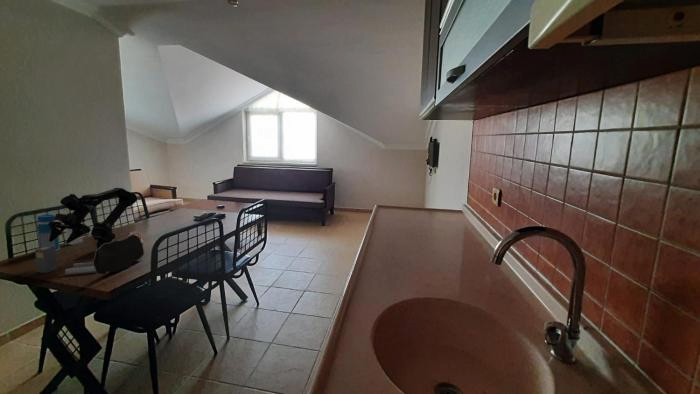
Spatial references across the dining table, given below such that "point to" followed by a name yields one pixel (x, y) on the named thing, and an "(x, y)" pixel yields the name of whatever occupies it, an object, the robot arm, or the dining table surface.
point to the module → (46, 259)
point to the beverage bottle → (46, 232)
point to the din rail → (81, 269)
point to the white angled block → (75, 239)
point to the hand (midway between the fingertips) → (58, 242)
